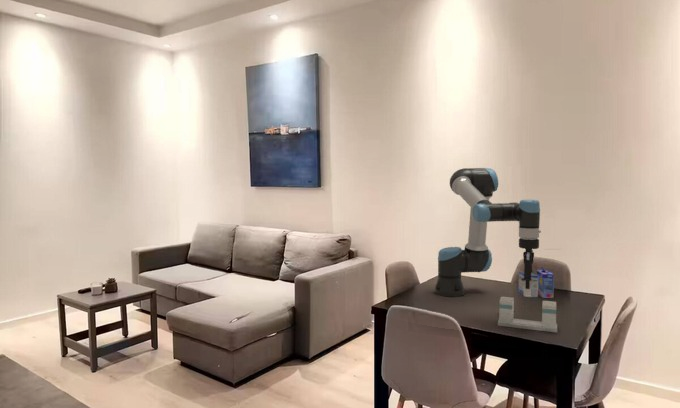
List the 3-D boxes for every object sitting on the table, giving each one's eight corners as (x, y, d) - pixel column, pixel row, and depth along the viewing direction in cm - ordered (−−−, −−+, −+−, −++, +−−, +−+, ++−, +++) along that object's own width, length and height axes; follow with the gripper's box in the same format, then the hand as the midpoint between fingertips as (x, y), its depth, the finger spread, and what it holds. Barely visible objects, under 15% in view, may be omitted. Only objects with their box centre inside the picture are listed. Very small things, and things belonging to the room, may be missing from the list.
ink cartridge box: (535, 292, 238) (536, 265, 237) (547, 293, 238) (547, 265, 237) (542, 298, 229) (542, 269, 227) (553, 298, 228) (554, 269, 227)
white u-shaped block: (497, 325, 189) (498, 300, 189) (499, 319, 197) (500, 296, 196) (557, 332, 180) (557, 307, 179) (556, 326, 187) (557, 301, 187)
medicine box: (518, 292, 191) (518, 271, 191) (528, 291, 191) (528, 271, 191) (527, 297, 183) (527, 275, 183) (538, 297, 184) (538, 275, 183)
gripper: (538, 242, 174) (537, 301, 176) (539, 235, 194) (538, 288, 196) (517, 241, 178) (516, 299, 179) (520, 234, 197) (519, 286, 199)
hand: (527, 293), depth 187 cm, fingers closed on medicine box, 9 cm apart
